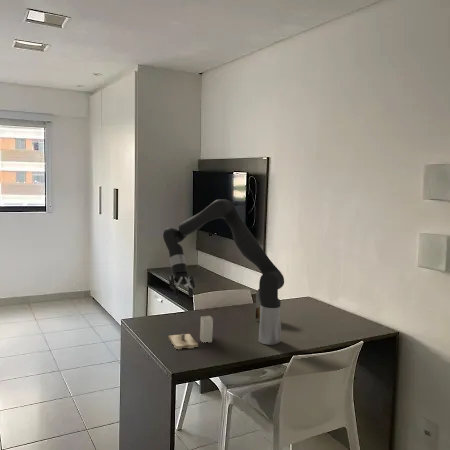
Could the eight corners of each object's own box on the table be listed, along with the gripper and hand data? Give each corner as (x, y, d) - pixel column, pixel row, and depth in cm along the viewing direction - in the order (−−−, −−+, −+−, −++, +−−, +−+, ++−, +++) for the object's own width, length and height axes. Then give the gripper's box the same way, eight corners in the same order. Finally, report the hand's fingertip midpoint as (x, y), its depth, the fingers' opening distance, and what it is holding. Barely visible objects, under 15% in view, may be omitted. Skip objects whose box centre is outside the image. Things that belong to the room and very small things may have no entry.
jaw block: (209, 338, 221) (209, 315, 219) (212, 342, 216) (212, 318, 215) (200, 339, 219) (200, 316, 218) (202, 342, 215) (203, 319, 214)
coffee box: (273, 319, 254) (275, 290, 252) (271, 323, 248) (273, 292, 246) (257, 317, 257) (258, 288, 255) (254, 320, 250) (256, 291, 249)
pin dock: (189, 336, 222) (189, 328, 222) (198, 347, 209) (198, 338, 209) (168, 338, 219) (168, 330, 218) (176, 349, 206) (176, 340, 205)
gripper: (171, 261, 228) (177, 293, 222) (194, 263, 238) (200, 294, 232) (162, 267, 233) (168, 298, 227) (184, 268, 243) (190, 299, 237)
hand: (184, 296), depth 229 cm, fingers open, 8 cm apart
